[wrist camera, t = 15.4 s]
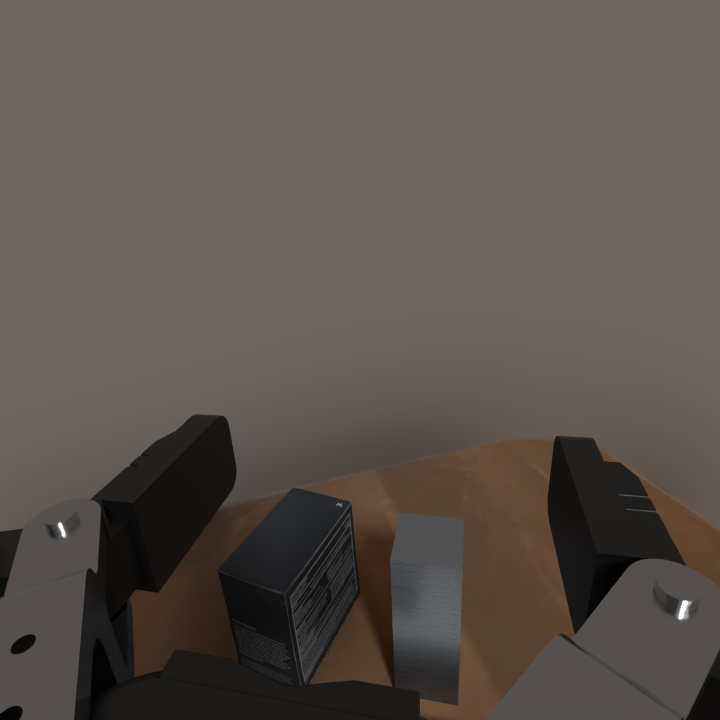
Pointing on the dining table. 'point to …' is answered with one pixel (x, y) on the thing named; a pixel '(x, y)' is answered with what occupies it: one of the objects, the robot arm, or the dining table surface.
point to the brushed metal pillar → (427, 605)
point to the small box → (292, 586)
